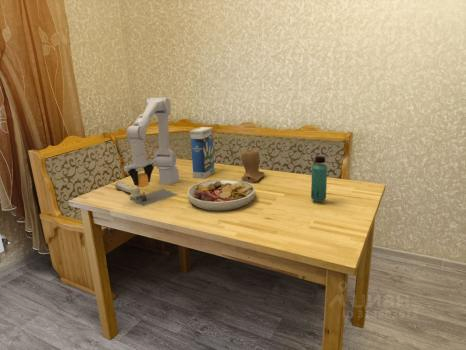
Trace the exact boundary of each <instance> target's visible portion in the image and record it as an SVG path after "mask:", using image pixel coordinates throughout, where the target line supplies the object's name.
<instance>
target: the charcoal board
mask: <svg viewBox="0 0 466 350" xmlns="http://www.w3.org/2000/svg"><path fill="white" fill-rule="evenodd" d="M141 193H142V198H141V199H132V198H129V200H130V201H132V202H134V203H136V204H138V205H140V206H141V207H146V206H148V205H151V204H154V203H157V202H160V201H163V200H167V199H169V198H172V197H175V196H178V194H177V193H175V192H172V191H170V190H167V189H164V188H162V189H159V190H155V191H153V192H149V193H146V192H145V191H143V192H141Z"/></svg>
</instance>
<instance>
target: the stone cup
mask: <svg viewBox="0 0 466 350" xmlns="http://www.w3.org/2000/svg"><path fill="white" fill-rule="evenodd" d="M240 153H241V154H240V160H241V163H242V164H243V169H244V172H245V173H244V175H243V176H241V179H242V181H244V182H247V183H254V182H257V181H259V180H261V178H262V177H263V176H264V175H265V172H264V171H259V168H260V161H261V160H260V159H261V158H260V152H259V151H258V150H257V149H254V150H245V151H242V152H240Z"/></svg>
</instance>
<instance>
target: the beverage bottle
mask: <svg viewBox="0 0 466 350" xmlns="http://www.w3.org/2000/svg"><path fill="white" fill-rule="evenodd" d="M314 163H315V164H313V165H312V167H311V179H310V180H311V188H310V191H311V192H310V195H311V196H310V199H311V200H312V201H315V202H324V201H326V199H327V187H328V185H327V179H328V166H327V165H326V164H324V163H326V158H325V156H322V155H321V156H320V155H317V156H315V159H314Z"/></svg>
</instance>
